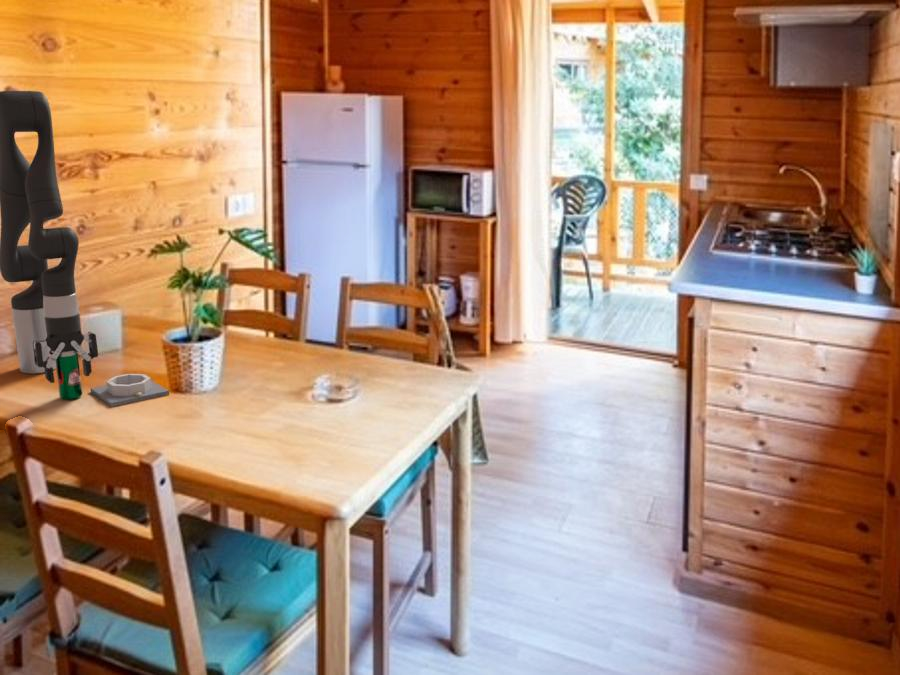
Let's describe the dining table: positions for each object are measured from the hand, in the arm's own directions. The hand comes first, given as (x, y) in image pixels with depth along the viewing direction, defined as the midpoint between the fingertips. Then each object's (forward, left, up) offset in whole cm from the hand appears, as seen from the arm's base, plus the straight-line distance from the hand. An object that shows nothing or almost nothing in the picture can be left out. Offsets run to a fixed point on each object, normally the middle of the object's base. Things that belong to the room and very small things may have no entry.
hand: (69, 378), depth 206 cm
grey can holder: (+6, +12, -5) cm, 14 cm away
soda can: (0, 0, -5) cm, 5 cm away
